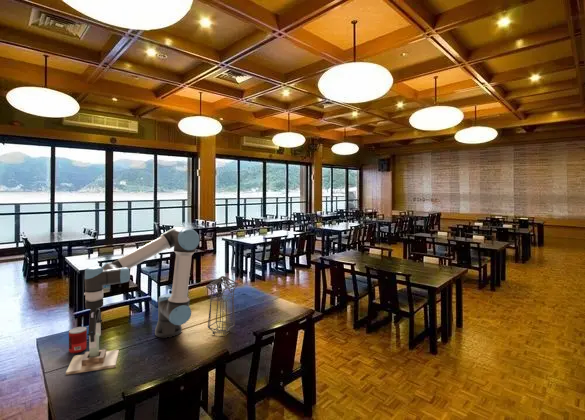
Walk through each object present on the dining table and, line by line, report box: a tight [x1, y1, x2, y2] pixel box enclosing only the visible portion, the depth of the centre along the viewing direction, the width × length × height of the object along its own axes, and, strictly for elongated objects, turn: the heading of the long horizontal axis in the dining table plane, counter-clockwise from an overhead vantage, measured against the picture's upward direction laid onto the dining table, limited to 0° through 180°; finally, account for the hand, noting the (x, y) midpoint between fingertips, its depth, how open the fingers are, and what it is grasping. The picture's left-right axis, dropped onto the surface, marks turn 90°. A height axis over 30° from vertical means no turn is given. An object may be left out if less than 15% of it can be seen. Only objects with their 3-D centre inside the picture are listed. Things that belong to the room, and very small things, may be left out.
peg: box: [88, 333, 100, 358], centre depth 161 cm, size 4×4×14 cm
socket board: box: [65, 348, 120, 375], centre depth 162 cm, size 20×16×4 cm
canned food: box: [68, 326, 88, 354], centre depth 173 cm, size 8×8×11 cm
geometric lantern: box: [205, 275, 239, 336], centre depth 199 cm, size 16×16×35 cm
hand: (95, 341), depth 162 cm, fingers open, 13 cm apart
